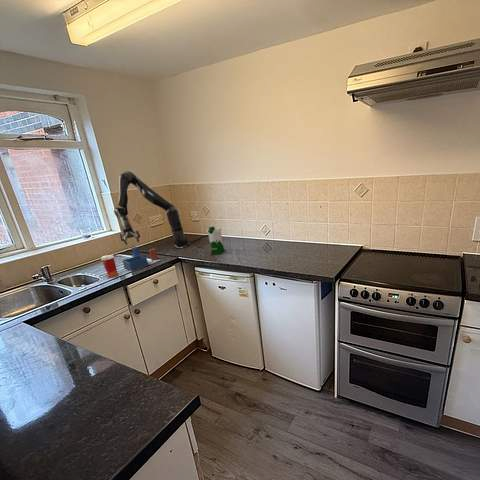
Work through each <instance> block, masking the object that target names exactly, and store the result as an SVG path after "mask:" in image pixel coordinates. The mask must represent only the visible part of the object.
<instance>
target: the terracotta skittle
mask: <svg viewBox="0 0 480 480" xmlns="http://www.w3.org/2000/svg"><path fill="white" fill-rule="evenodd" d="M149 255H150V259H151V261H157V260H158V254H157V251H156V248H150V249H149Z"/></svg>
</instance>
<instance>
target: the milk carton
mask: <svg viewBox="0 0 480 480" xmlns="http://www.w3.org/2000/svg"><path fill="white" fill-rule="evenodd" d="M206 233H207V235H208V236H207V237H208V240H209V246H210V252H211V255H221V254H223V253H224V252H225V251H226V250H225V246H224V243H223V237H222V227H215V226H209V227H208V230H206Z"/></svg>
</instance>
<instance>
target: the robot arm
mask: <svg viewBox="0 0 480 480" xmlns="http://www.w3.org/2000/svg"><path fill="white" fill-rule="evenodd" d="M130 185H133V186H134V187H135V188H137V190H138V191H139V192H140V194H141V196H142V198H144V199H145V200H146V201H147V202H149V203H150V204H153V205H154V206H156V207H159V208H161V209H162V210H164V211H165V212H166V217H167V221H168V223H169V226H170V231H171V234H172V237H173V238H172V239H173V243H174V247H175V249H183V248H186V247H188V246H189V239H187V236H186V234H185V231H184V227H183V223H182V221H181V219H180V215H181V210H180V208H179V207H177V206H175V205H173V203H171V202H169V201H167V200H166V199H165V198H164V197H163V196H161V195H160V194H159V193H158V192H156V191H155V190H154V189H152V188H151V187H150V186H148V185H147V184H146V183H145V182H143V181H142V180H141V179H140V178H139V177H138V176H136V174H135V173H133V172H132V171H129V170H126V171H124V172H122V173H120V174H119V176H118V199H117V205H118V207H117V206H116V207H115V208H114V209H113V213H114V216H115V217H116V218H117V219H118V221H119V223H120V228H121V230H122V233H119V238H120V241H121V242H124V245H125V246H127V245H128V242H127V240H128V239H130V238H131V239H132V238H134V239H136V242H137V243H139V242H140V238H141V234H140V233H139V230H135V231H134V228H133V226H132V224H131V222H130V219H129V217H128V215H129V209H128V205H129V194H128V188H129V186H130ZM123 237H124V238H123ZM204 237H209V236H208V234H206V235H202V236H200V237H199V238H198V239H196V240H190V243H195V242H197V241H199V240H200V239H202V238H204Z"/></svg>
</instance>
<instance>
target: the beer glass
mask: <svg viewBox="0 0 480 480" xmlns="http://www.w3.org/2000/svg"><path fill="white" fill-rule="evenodd" d="M100 260H101V262H102V264H103V267H104V269H105V271H106V274H107V276H108V278H117V277H118V276H119V274H118V270H117V265H116V261H115V256H114V255H113V254H105V255H103V256H101V258H100Z"/></svg>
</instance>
